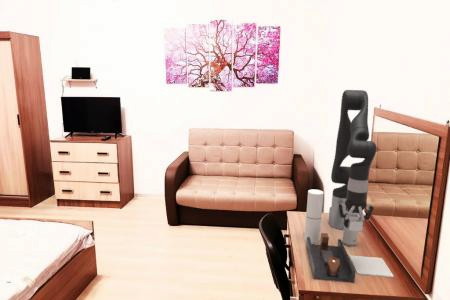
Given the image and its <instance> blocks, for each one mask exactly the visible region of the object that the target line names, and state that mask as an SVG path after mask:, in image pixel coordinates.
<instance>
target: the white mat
mask: <svg viewBox="0 0 450 300" xmlns="http://www.w3.org/2000/svg"><path fill="white" fill-rule="evenodd" d="M348 256H349V258H350V261H351V263H352V265H353V267H354V269H355V273H356V274H357V275H359V276H371V277H379V278H380V277H382V278H394V277H395V276H394V274H393V273H392V271H391V270H390V268H389V267H388V265H387V263H386V262H385V260H384V259H383V257H376V256H375V257H374V256H362V255H361V256H360V255H348Z"/></svg>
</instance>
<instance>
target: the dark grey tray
mask: <svg viewBox="0 0 450 300" xmlns="http://www.w3.org/2000/svg"><path fill="white" fill-rule="evenodd" d="M329 239H330V237H329V235H328V233H326V232H325V233H324V232H320V240H319V244H318V243H311V241H310V237H307V242H306V241H305V242H306V246H305V248H306V252H307V256H308V259H309V260H308V261H309V265H310V269H311V273H312V278H313V280H321V281H333V282H342V283H343V282H344V283H355V277H356V270H355V268H354V266H353V264H352V262H351V259H350V257H349V255H348V252H347V249H346V248H345V245H344V244H343V243H342V240H341V238H339V239H337V244H336V245H329Z"/></svg>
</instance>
